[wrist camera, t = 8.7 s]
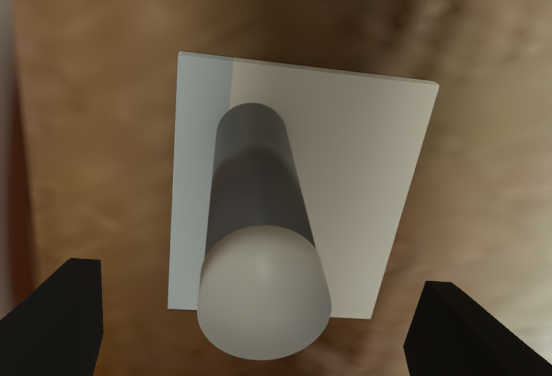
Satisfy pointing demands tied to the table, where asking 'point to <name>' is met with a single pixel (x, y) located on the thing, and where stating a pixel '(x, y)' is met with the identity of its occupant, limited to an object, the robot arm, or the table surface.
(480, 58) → the table surface
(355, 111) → the notepad
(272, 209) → the cylinder
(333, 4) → the table surface
